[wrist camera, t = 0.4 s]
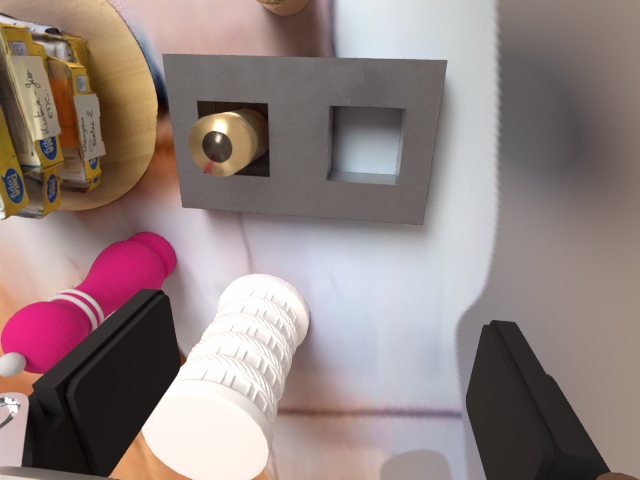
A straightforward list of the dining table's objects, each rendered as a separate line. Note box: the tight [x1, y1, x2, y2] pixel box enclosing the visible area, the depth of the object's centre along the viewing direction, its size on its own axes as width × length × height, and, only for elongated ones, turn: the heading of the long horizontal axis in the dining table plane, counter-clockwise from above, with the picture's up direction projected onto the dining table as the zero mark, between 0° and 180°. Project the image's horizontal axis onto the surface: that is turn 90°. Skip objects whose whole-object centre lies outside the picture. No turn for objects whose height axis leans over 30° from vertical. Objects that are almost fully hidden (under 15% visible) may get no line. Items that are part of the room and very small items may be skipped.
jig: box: [162, 54, 447, 225], centre depth 33 cm, size 14×24×8 cm, turn 88°
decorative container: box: [142, 274, 310, 480], centre depth 38 cm, size 12×12×18 cm
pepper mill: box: [0, 232, 176, 377], centre depth 36 cm, size 7×7×20 cm
